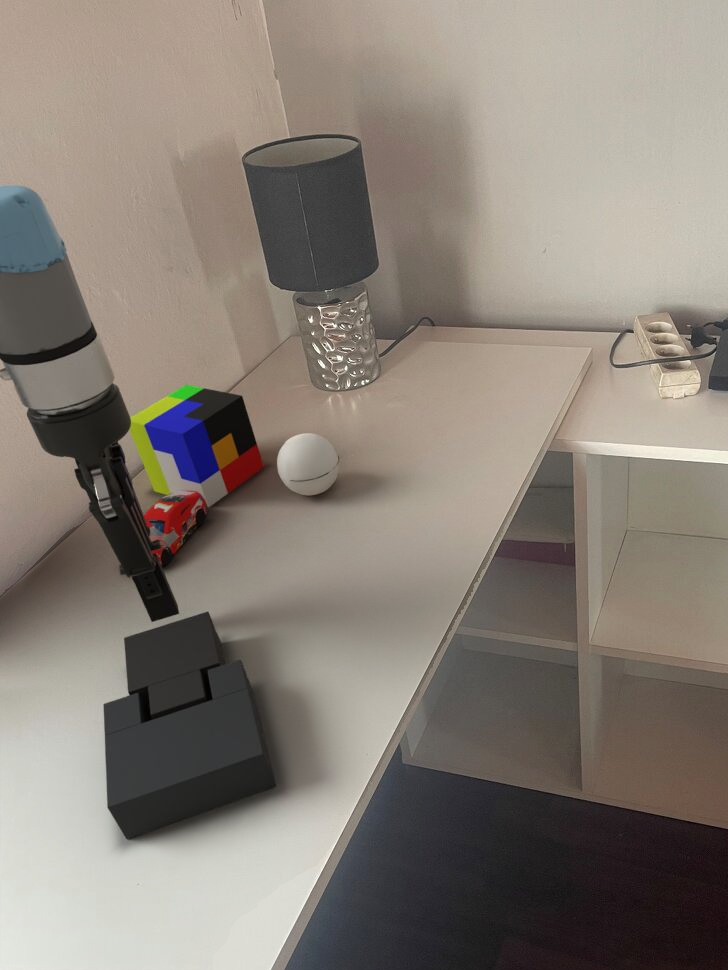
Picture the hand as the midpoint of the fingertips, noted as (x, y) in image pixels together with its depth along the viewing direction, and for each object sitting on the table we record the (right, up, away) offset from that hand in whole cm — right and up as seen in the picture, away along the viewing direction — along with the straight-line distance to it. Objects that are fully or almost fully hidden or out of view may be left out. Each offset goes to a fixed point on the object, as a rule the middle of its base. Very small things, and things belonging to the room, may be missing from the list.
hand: (164, 613), depth 86 cm
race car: (-4, +8, +15) cm, 18 cm away
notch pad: (+7, -12, -13) cm, 19 cm away
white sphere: (+13, +15, +19) cm, 27 cm away
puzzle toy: (-2, +17, +25) cm, 30 cm away
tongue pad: (+4, -7, -6) cm, 11 cm away
